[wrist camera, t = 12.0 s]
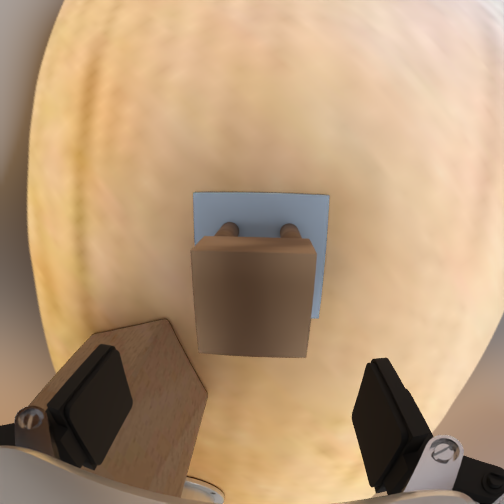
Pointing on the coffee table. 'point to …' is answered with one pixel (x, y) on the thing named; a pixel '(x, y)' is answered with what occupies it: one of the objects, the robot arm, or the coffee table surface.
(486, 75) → the coffee table surface
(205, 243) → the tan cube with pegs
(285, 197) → the mat
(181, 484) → the wooden block
